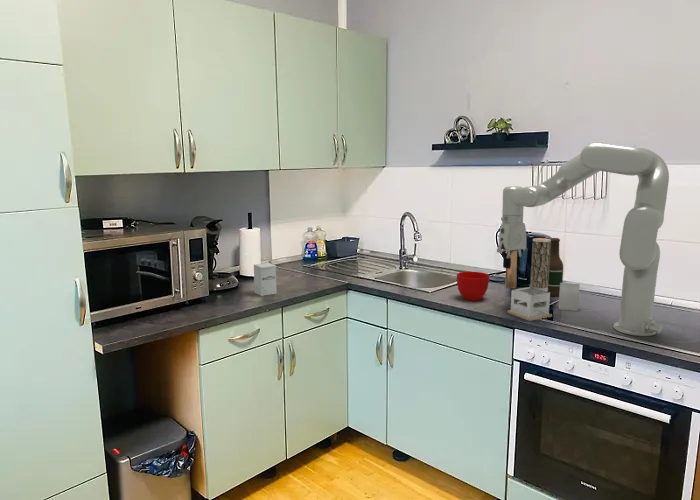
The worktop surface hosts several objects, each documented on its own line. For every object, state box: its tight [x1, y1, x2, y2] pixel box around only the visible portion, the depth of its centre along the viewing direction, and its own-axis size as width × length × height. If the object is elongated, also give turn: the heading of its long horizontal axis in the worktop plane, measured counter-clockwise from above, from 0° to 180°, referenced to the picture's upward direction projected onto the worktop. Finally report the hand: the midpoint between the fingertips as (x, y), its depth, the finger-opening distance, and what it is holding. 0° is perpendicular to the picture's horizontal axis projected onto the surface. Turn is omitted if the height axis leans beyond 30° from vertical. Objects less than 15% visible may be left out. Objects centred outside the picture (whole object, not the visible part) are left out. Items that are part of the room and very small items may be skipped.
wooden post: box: [504, 250, 518, 289], centre depth 197 cm, size 4×4×18 cm
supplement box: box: [253, 262, 278, 297], centre depth 222 cm, size 7×7×13 cm
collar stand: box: [506, 286, 553, 322], centre depth 190 cm, size 11×11×9 cm
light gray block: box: [558, 282, 581, 312], centre depth 198 cm, size 4×7×10 cm, turn 71°
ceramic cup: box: [456, 271, 490, 302], centre depth 214 cm, size 13×17×10 cm
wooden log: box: [529, 237, 552, 292], centre depth 208 cm, size 7×7×25 cm
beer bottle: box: [548, 237, 564, 298], centre depth 217 cm, size 8×8×24 cm
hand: (511, 266), depth 197 cm, fingers closed on wooden post, 4 cm apart
